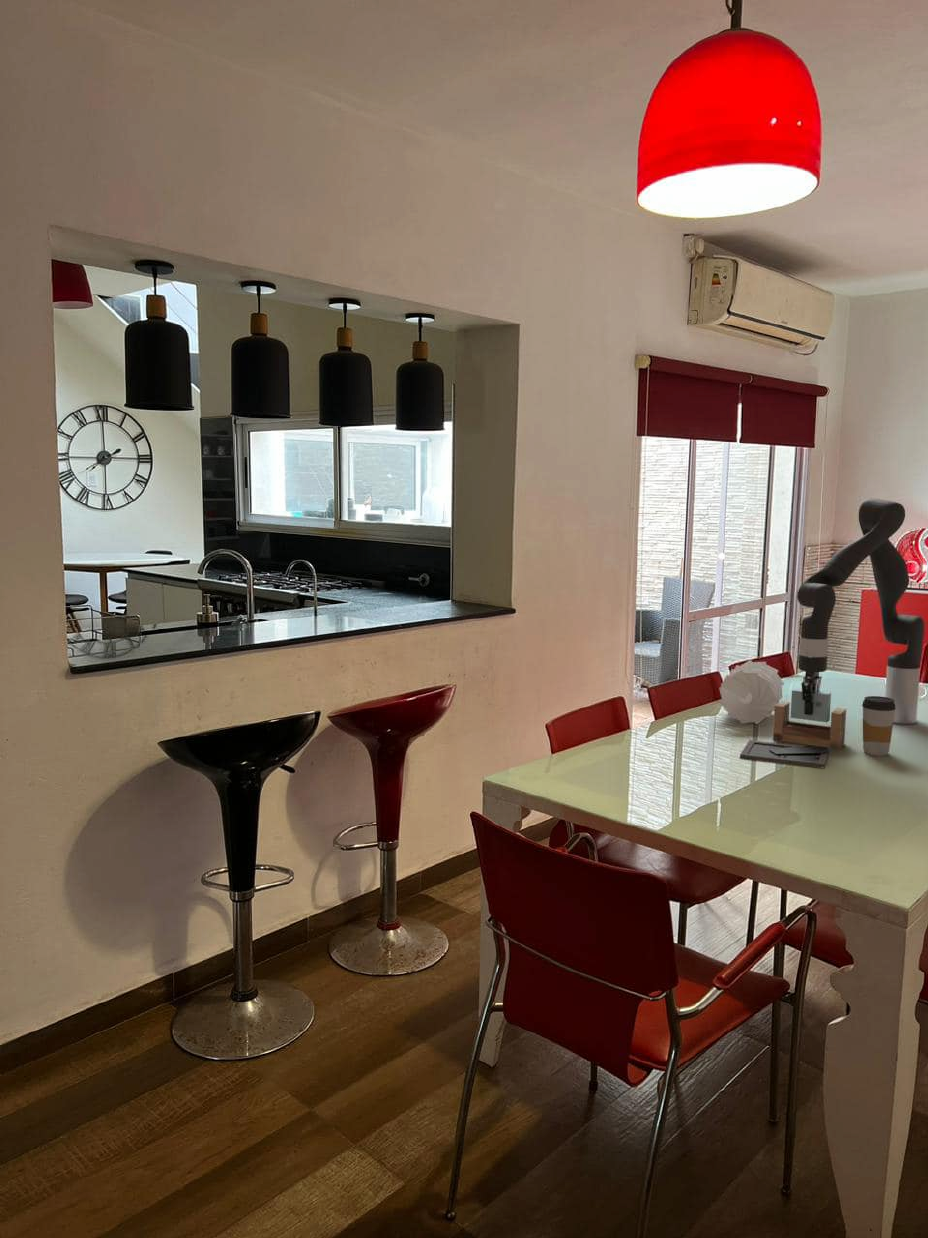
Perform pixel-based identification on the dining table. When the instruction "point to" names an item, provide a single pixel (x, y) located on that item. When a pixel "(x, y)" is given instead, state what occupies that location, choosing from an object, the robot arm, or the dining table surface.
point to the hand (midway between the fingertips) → (810, 713)
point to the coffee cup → (877, 724)
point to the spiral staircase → (751, 691)
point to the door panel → (819, 706)
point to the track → (809, 728)
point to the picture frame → (786, 753)
